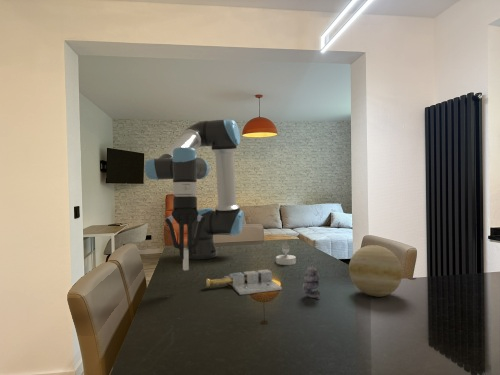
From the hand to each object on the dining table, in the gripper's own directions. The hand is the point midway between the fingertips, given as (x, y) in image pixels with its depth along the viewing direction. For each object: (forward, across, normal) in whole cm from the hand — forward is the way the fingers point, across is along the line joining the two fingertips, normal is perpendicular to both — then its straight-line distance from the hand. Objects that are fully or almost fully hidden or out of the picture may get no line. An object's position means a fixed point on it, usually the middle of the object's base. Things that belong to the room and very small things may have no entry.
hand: (185, 269), depth 103 cm
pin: (+7, +15, 0) cm, 17 cm away
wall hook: (+7, +46, +23) cm, 52 cm away
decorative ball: (+7, +53, -25) cm, 59 cm away
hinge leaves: (+7, +22, 0) cm, 23 cm away
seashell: (+7, +34, -20) cm, 40 cm away
